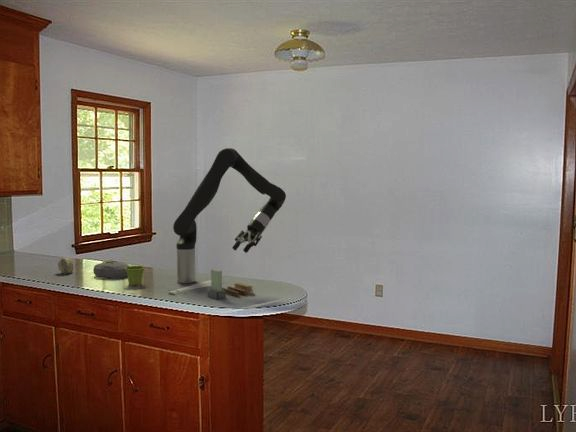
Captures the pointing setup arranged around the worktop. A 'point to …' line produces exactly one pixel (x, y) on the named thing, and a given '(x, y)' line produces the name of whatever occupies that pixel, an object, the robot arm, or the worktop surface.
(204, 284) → the baseboard molding
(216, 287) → the green board
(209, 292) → the grey holder
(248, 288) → the pine offcut top
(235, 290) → the walnut rack
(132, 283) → the plant pot
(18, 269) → the worktop surface
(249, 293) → the pine offcut low
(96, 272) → the small grey backpack
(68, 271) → the garlic bulb
